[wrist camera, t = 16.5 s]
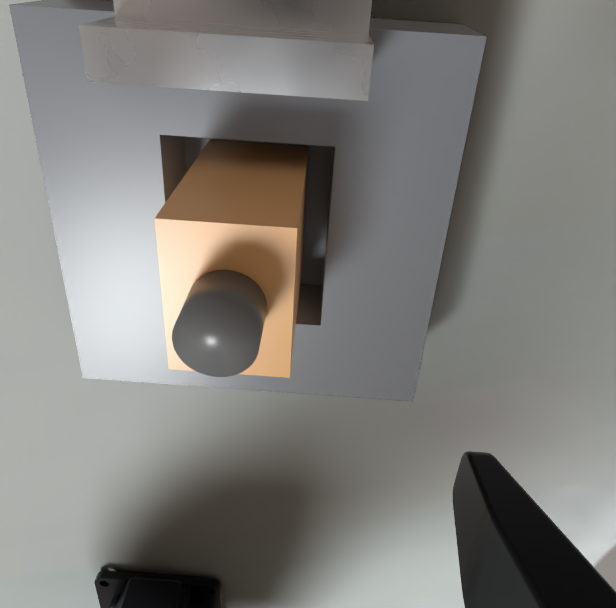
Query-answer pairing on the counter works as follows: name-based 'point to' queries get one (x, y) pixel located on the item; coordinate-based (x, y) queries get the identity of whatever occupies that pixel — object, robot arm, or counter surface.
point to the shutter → (235, 46)
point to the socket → (319, 198)
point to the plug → (234, 259)
